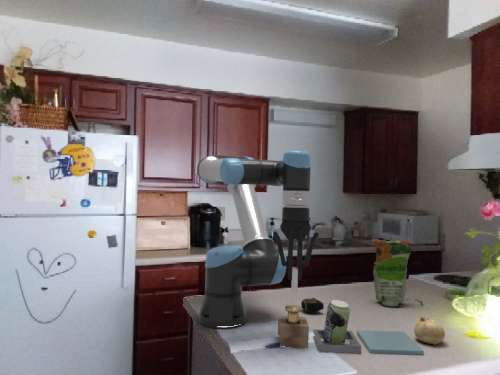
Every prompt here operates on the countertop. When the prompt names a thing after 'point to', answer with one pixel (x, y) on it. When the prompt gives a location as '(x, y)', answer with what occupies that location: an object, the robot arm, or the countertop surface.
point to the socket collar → (337, 348)
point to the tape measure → (312, 305)
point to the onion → (429, 331)
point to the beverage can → (336, 322)
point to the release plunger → (293, 313)
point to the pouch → (391, 270)
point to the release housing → (293, 332)
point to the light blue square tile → (389, 342)
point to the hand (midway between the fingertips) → (294, 291)
